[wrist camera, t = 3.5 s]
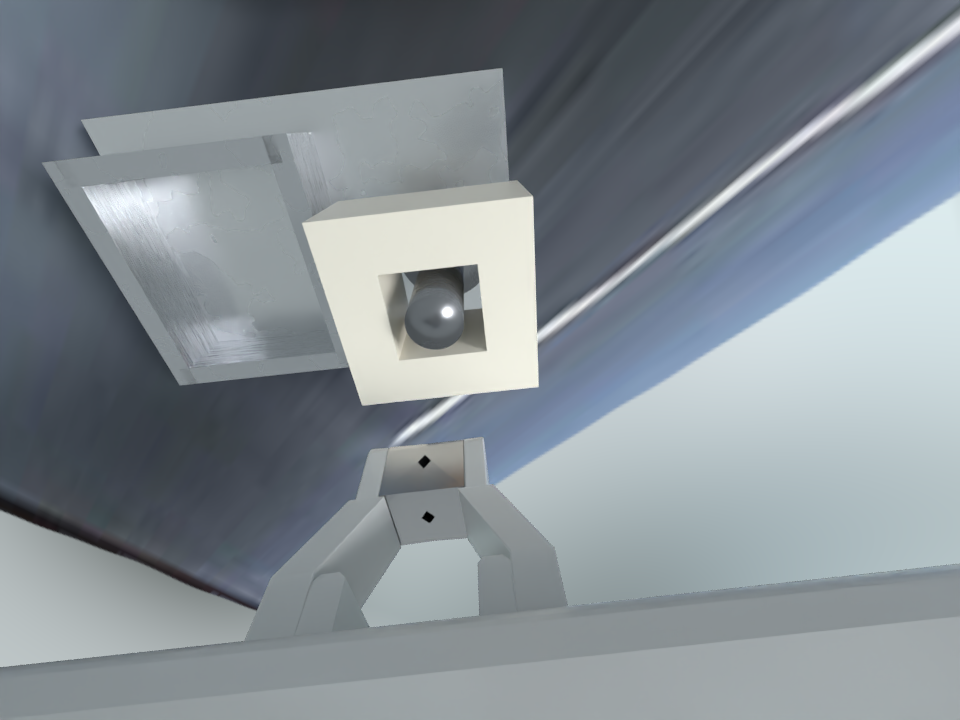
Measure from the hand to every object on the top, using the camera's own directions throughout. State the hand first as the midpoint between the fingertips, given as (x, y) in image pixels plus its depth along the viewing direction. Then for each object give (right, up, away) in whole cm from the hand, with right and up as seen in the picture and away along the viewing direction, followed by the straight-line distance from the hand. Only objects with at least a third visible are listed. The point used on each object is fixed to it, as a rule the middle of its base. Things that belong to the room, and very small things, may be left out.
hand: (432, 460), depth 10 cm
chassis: (-7, +9, +11) cm, 16 cm away
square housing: (0, +6, +5) cm, 8 cm away
